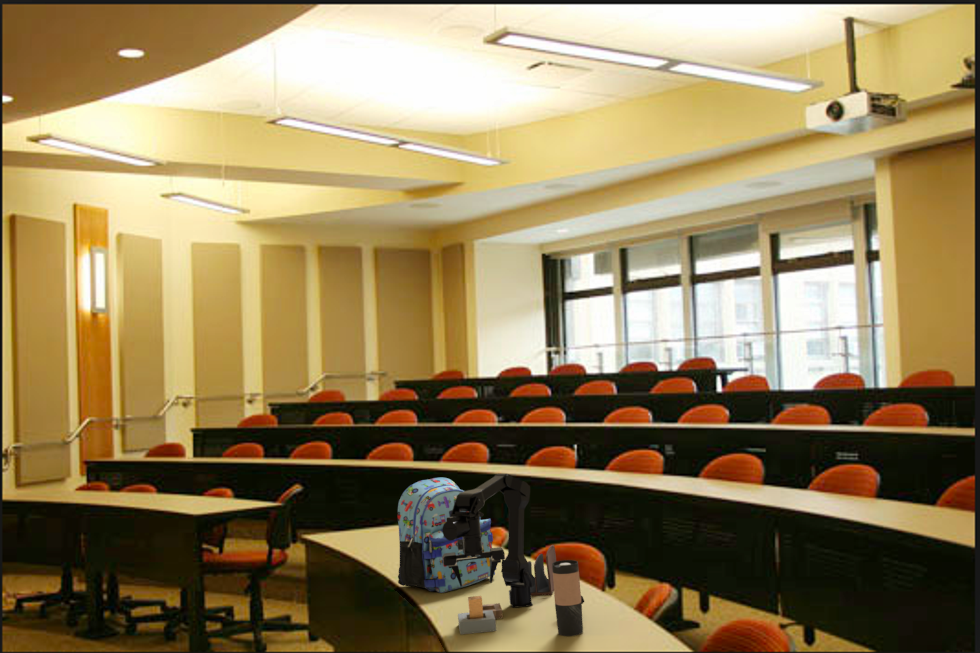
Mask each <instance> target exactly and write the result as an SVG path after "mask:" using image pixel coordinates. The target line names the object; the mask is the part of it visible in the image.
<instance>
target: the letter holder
mask: <svg viewBox="0 0 980 653" xmlns="http://www.w3.org/2000/svg"><path fill="white" fill-rule="evenodd" d="M556 561H557V556H556V548H555V545H554V544H552V545H550V546H549V547H548V549H547V551H546V555H545V562H546V570H547V575H546V573H545V565H544V554H543V553H540V554H538V556H537V557H536V559H535V561H534V564H533V566H532V561H531V560H529V561H527V562H528V567H529V571H530V573H531V574H532V573H533V571H534V577H535V585H533V587H530V588H531V597H536V596H537V597H538V596H552V594H554V583H553V569H552V563H553V562H556ZM532 567H533V569H534V570H533V569H532ZM532 575H533V574H532Z"/></svg>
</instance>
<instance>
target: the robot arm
mask: <svg viewBox="0 0 980 653" xmlns="http://www.w3.org/2000/svg"><path fill="white" fill-rule="evenodd" d="M463 491H464V492H461V493H459V494H458V495H457V498H456V501H455V504H454V507H453V510H452V513H451V517H447V522H446V523H445V524H444V525H443V529H442V532H443V535H444V537H445V538H446V539H447V540H450V541H451V540H455V539H458V538H461V537H463V539H459V540H457V544H458V550H463V553H464V554H462V555H456V554H455V552H453V553H444V555H443V563H444V566H448V568H452V569H453V571H454V573H455V574H456V576H457V579H458V581H459V584H460V586H462V581H461V577H460V572H459V568H458V564H457V561H464V560H473V559H482V558H490V577H489V582H490V584H492V583H493V579H494V576H495V575H494V572H495V571H496V570H497V566H498V564H500V563H501V571H500V573H501V574H502V575H501V576H502V578H503V582H504V585H505V586H506V587H509V588H510V589H509V590H508V596H509V597H508V598H509V604H510V605H511V608H520V607H521V608H522V607H531V606H533V602H532V596H531V588H530V587H533V585H535V575H534V574H531V573H530V571H529V567H528V562H529V561H528V560H527V559H526V557H525V553H524V550H525V548H524V547H525V546H524V544H525V543H524V542H525V509H526V507H527V505H528V504H529V502H530V497H531V486H530V485H529V484H528V483H527V482H526V481H523V480H521V479H519V478H516V477H514V476H512V475H511V474H509V473H496V474H494V476H493V477H492V478H490V479H488V480H486V481H485V482H484V483H482V484H480V485H478V486H477V487H476V488H473V489H467V490H463ZM499 492H500V493H502V494H503V497H504V498H503V499H504V502H505V504H506V506H507V508H508V541H507V542H508V546H507V547H508V548H507V549H508V550H507V555H505V550H504V548H502V547H501V546H500V547H499V546H498V547H492V548H490V551H489V552H483V551H482V541H481V530H480V519H479V517H481V518H482V517H484V513H483V512H481V511H480V510H481V509H482V508H483V507H484V506H485V502H486V501H487V500H488V499H489V498H491V497H492V496H494V495H496V494H497V493H499ZM459 511H466V512H459ZM467 556H470V557H467ZM471 556H472V557H471ZM495 569H496V570H495ZM495 573H496V572H495Z"/></svg>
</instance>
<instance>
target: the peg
mask: <svg viewBox="0 0 980 653" xmlns="http://www.w3.org/2000/svg"><path fill="white" fill-rule="evenodd" d="M467 602H468V613H469V617H470V619H478V618H483V606H482V605H483V597H482V595H477V596H476V595H475V596H474V595H473V596H468V597H467Z"/></svg>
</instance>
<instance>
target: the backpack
mask: <svg viewBox="0 0 980 653" xmlns="http://www.w3.org/2000/svg"><path fill="white" fill-rule="evenodd" d="M464 491H465V490H463V489H460V487H459V486H458V485H457V483H455V481H453V480H452V479H450V478H447V477H433V478H430V479H428V478H427V479H422V480H418V481H417V482H414V483H413V484H410V485H409V486H408V487H407V488H406V489H405V490H404V491H403V492H402V494H401V496H400V499H399V500H398V504H397V522H398V524H397V525H398V535H399V536H398V539H399V540H398V541H399V566H398V575H397V578H398V580H397V581H398V582H397V583H398V584H399V585H400V586H403V587H404V586H405V587H417V588H422V589H425V590H426V591H429V592H435V591H436V592H437V593H439V594H440V593H443V594H444V593H448V592H450V591H454V590H459V589H461V588H465V587H468V586H471V585H474V584H476V583H477V584H478V583H479V582H481V581H483V580H485V579H487V578H490V558H482V559H473V560H464V561H457V564H458V568H459V572H460V577H461V581H462V586H460V584H459V581H458V579H457V576H456V574H455V573H454V571H453V569H452V568H448V566H444V563H443V555H444V553H453V552H455V554H456V555H462V554H464V553H463V550H458V544H457V540H459V539H463V537H461V538H458V539H455V540H451V541H450V540H447V539H446V538H445V537H444V535H443V532H442V529H443V525H444V524H445V523H446V522H447V517H451V513H452V510H453V507H454V504H455V501H456V498H457V495H458V494H459V493H461V492H464ZM459 512H466V511H459ZM481 518H482V517H479V519H480V530H481V541H482V551H483V552H489V551H490V548H493V541H494V538H493V536H494V535H493V532H492V529H491V523H492V520H491V518H486V519H481ZM467 557H470V556H467ZM471 557H472V556H471ZM495 571H497V568H496V569H495ZM495 574H496V572H494V576H495Z"/></svg>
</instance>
